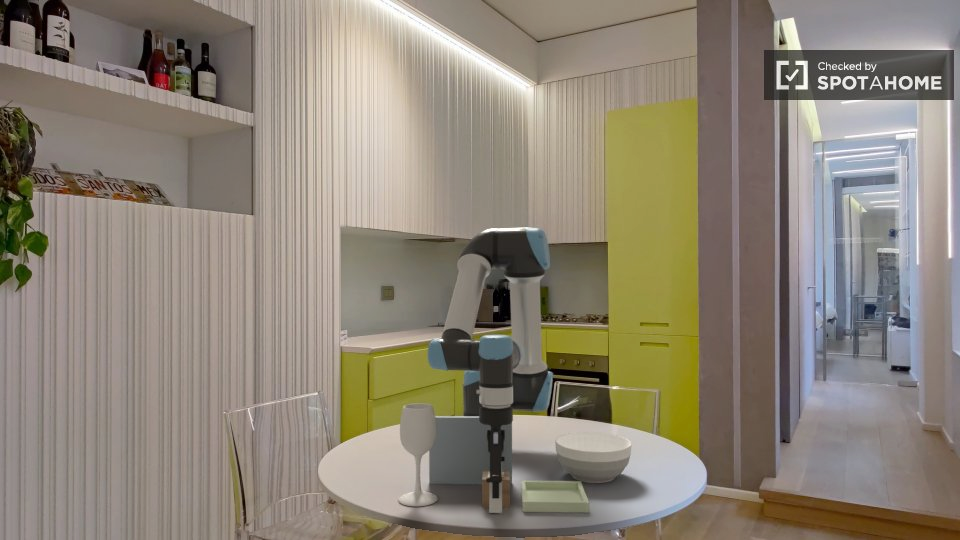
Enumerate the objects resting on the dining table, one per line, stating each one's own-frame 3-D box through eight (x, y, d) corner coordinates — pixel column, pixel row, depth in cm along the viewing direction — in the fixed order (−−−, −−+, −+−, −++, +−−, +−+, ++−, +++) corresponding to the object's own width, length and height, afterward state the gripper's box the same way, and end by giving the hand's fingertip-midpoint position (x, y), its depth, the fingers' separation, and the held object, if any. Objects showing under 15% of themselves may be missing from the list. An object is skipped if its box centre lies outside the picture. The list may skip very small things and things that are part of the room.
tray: (520, 489, 147) (520, 480, 147) (580, 490, 146) (580, 481, 146) (522, 511, 133) (522, 501, 133) (588, 512, 132) (588, 502, 132)
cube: (482, 497, 142) (482, 470, 142) (509, 497, 142) (509, 470, 142) (482, 507, 136) (482, 478, 136) (509, 507, 136) (509, 478, 136)
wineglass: (399, 493, 144) (399, 402, 144) (437, 492, 145) (437, 401, 145) (397, 507, 135) (397, 410, 136) (437, 506, 136) (437, 409, 136)
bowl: (585, 493, 144) (585, 455, 144) (540, 471, 161) (540, 437, 161) (648, 481, 153) (647, 445, 153) (599, 461, 169) (599, 429, 170)
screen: (429, 483, 151) (429, 417, 151) (430, 481, 152) (429, 416, 153) (512, 484, 150) (511, 417, 150) (512, 482, 152) (511, 416, 152)
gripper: (480, 394, 152) (480, 482, 151) (476, 417, 127) (476, 522, 126) (511, 394, 151) (511, 483, 151) (513, 417, 126) (513, 523, 126)
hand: (495, 501), depth 139 cm, fingers open, 13 cm apart
